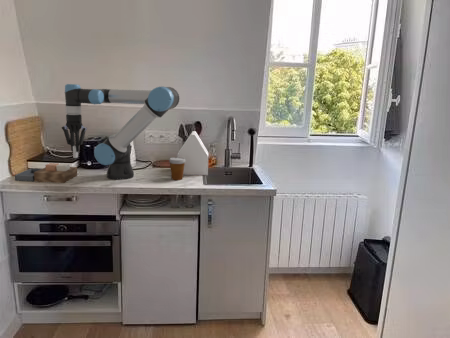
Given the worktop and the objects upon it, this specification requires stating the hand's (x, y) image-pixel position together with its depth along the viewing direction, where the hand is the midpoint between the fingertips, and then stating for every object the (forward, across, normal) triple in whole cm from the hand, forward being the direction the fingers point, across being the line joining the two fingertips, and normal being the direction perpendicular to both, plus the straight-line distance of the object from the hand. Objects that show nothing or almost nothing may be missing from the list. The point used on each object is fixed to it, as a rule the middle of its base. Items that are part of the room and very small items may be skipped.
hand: (75, 157), depth 192 cm
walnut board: (+13, +11, 0) cm, 17 cm away
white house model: (+12, -61, -31) cm, 69 cm away
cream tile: (+8, +7, 0) cm, 10 cm away
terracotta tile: (+8, +13, 0) cm, 15 cm away
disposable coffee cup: (+12, -54, -12) cm, 57 cm away
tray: (+13, +25, 0) cm, 28 cm away
